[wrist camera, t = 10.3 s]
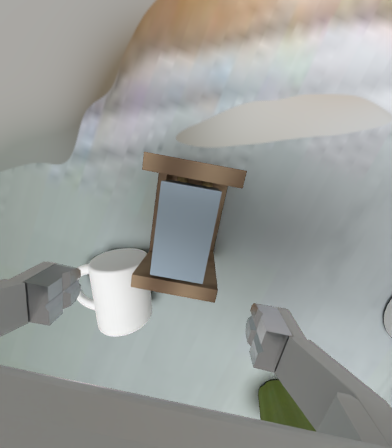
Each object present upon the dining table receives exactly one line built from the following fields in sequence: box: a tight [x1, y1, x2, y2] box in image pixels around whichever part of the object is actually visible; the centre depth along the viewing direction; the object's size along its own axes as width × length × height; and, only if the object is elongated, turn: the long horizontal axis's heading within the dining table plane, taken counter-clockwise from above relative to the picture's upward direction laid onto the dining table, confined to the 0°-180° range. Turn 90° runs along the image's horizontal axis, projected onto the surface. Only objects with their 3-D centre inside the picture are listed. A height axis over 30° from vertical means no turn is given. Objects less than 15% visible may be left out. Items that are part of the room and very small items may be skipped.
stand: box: [131, 152, 247, 303], centre depth 23 cm, size 9×14×11 cm, turn 170°
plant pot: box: [258, 380, 316, 432], centre depth 31 cm, size 12×12×11 cm
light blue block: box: [150, 180, 222, 284], centre depth 20 cm, size 6×10×5 cm, turn 170°
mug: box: [77, 248, 152, 336], centre depth 27 cm, size 12×10×8 cm
